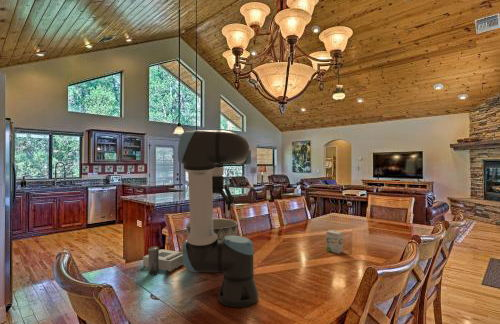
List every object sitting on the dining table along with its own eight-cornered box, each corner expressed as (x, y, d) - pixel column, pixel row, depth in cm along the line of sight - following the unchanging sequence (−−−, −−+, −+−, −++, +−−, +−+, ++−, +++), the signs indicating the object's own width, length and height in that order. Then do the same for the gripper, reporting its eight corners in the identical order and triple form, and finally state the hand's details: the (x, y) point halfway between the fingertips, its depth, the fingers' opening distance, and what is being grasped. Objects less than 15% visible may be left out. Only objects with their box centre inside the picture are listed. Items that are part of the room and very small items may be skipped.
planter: (187, 278, 129) (187, 230, 130) (184, 260, 154) (185, 219, 155) (243, 273, 136) (243, 226, 136) (232, 256, 161) (232, 217, 162)
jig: (170, 271, 138) (170, 259, 138) (143, 266, 144) (143, 255, 144) (187, 262, 151) (187, 251, 151) (161, 258, 157) (161, 248, 157)
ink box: (325, 250, 172) (325, 231, 172) (330, 249, 176) (330, 229, 176) (338, 253, 166) (338, 233, 166) (343, 252, 169) (343, 232, 170)
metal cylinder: (154, 275, 133) (154, 249, 133) (146, 274, 134) (146, 248, 135) (160, 272, 137) (161, 247, 137) (153, 270, 139) (153, 246, 139)
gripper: (240, 175, 149) (240, 216, 149) (200, 175, 160) (200, 213, 159) (234, 176, 142) (233, 218, 142) (192, 175, 153) (192, 215, 152)
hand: (216, 215), depth 151 cm, fingers open, 13 cm apart
